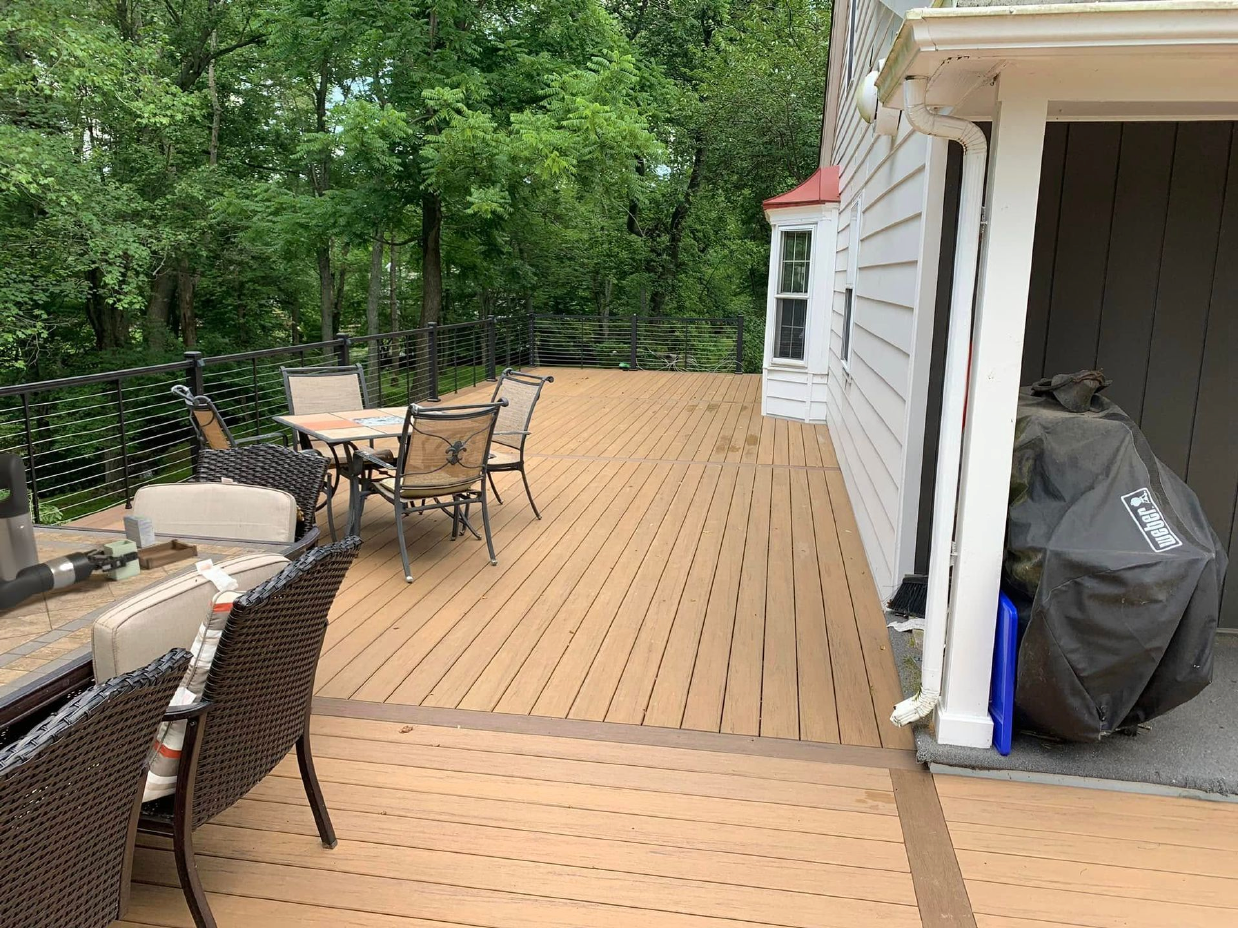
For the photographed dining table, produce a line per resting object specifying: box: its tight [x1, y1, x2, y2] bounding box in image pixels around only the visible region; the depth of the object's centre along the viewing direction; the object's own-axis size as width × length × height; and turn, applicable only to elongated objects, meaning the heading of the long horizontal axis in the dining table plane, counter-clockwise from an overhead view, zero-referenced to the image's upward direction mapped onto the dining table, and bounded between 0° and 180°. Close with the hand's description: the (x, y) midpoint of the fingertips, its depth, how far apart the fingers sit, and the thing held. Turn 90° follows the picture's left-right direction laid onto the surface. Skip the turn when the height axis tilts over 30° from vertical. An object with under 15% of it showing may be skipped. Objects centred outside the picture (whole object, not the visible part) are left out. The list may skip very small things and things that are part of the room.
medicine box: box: [123, 513, 157, 549], centre depth 264 cm, size 8×4×9 cm, turn 58°
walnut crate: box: [137, 538, 199, 570], centre depth 251 cm, size 12×14×3 cm
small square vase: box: [103, 538, 141, 582], centre depth 238 cm, size 5×6×9 cm
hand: (127, 552), depth 239 cm, fingers open, 8 cm apart
